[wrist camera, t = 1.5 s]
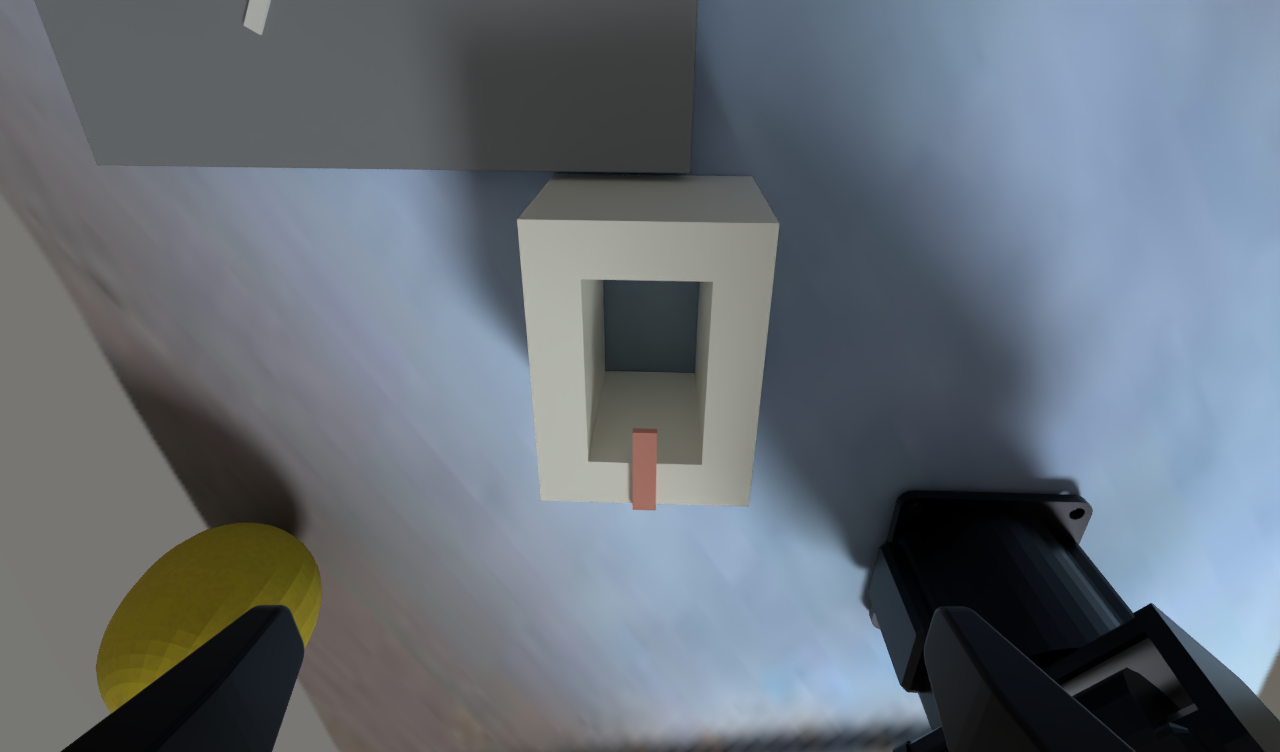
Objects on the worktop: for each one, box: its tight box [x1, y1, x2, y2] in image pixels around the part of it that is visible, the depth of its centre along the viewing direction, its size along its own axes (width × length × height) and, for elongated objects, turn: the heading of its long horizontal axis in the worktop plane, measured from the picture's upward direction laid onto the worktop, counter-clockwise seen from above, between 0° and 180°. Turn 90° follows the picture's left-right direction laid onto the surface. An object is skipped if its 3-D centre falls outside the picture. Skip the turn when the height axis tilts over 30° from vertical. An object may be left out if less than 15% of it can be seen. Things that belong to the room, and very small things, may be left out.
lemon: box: [96, 523, 322, 713], centre depth 21 cm, size 6×6×8 cm
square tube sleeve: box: [517, 174, 780, 510], centre depth 17 cm, size 6×8×5 cm
